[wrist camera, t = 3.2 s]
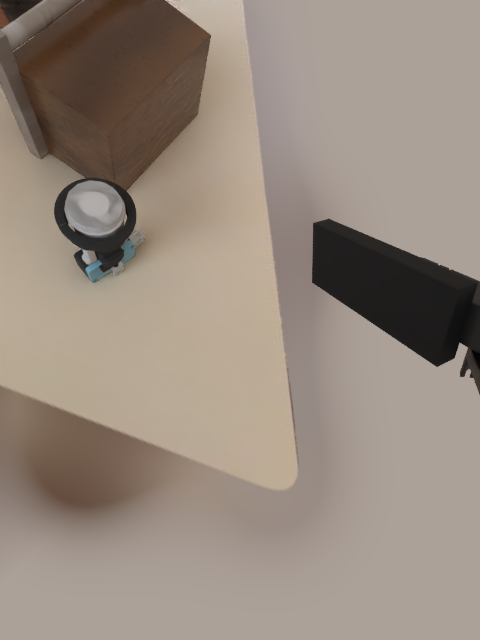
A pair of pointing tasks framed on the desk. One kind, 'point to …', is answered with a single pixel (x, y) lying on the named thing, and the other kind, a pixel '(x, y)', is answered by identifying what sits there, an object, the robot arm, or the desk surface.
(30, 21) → the box
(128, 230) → the push button
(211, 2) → the desk surface
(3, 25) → the pottery mug
